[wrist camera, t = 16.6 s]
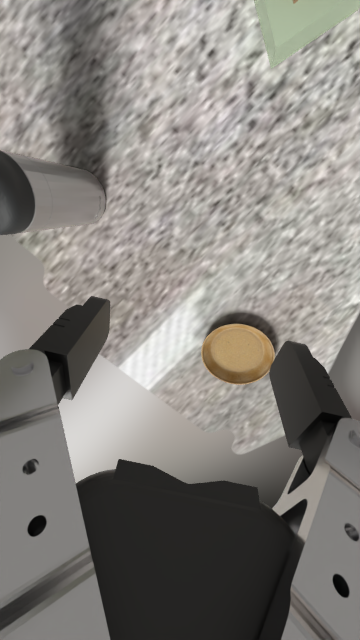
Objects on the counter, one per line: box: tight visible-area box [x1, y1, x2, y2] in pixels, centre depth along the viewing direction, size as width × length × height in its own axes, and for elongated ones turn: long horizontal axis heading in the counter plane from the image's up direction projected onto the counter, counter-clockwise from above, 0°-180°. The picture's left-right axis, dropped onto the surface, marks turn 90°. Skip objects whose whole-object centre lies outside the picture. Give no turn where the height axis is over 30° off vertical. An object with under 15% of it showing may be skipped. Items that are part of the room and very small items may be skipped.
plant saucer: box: [201, 324, 275, 385], centre depth 50 cm, size 15×15×3 cm
